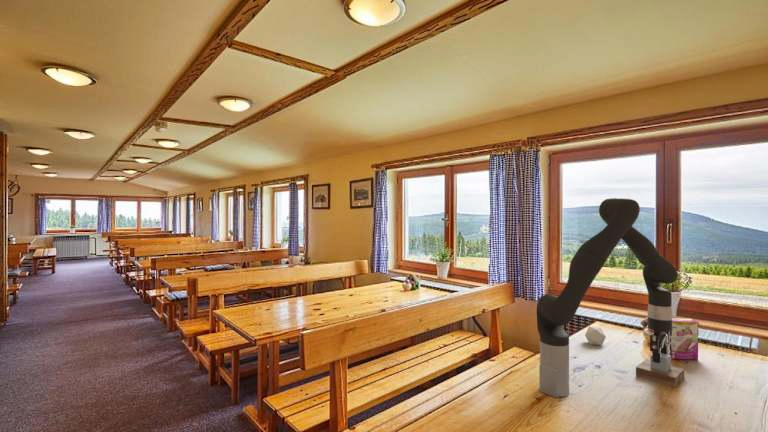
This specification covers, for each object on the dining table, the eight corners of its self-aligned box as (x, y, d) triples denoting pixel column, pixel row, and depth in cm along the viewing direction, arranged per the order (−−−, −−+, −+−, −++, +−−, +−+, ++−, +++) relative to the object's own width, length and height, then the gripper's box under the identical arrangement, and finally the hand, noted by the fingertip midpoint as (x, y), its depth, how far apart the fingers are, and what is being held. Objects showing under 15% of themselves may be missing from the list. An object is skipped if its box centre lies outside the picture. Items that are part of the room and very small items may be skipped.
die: (599, 350, 167) (611, 333, 168) (581, 337, 172) (592, 320, 172) (597, 350, 174) (609, 334, 175) (580, 338, 179) (591, 322, 179)
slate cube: (666, 372, 134) (666, 358, 134) (650, 367, 138) (650, 354, 138) (670, 368, 137) (670, 355, 137) (654, 364, 141) (654, 351, 141)
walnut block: (675, 389, 129) (675, 378, 129) (635, 377, 139) (635, 367, 139) (684, 379, 137) (684, 368, 137) (646, 369, 146) (646, 359, 146)
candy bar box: (670, 359, 154) (670, 320, 154) (662, 355, 159) (662, 317, 159) (699, 360, 153) (699, 321, 153) (690, 356, 158) (690, 318, 158)
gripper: (666, 322, 130) (666, 367, 130) (677, 315, 139) (677, 357, 139) (641, 317, 136) (641, 361, 136) (653, 311, 145) (653, 352, 145)
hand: (659, 359), depth 138 cm, fingers open, 8 cm apart
